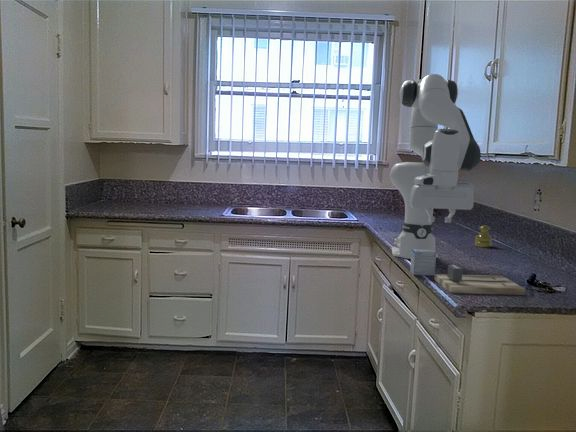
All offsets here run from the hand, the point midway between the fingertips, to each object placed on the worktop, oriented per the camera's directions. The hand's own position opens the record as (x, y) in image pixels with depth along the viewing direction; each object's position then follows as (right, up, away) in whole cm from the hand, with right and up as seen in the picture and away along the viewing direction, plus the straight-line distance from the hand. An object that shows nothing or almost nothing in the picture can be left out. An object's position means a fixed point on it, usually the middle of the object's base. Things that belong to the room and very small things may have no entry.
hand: (439, 222), depth 167 cm
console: (+14, -21, +4) cm, 26 cm away
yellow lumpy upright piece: (+43, -13, +77) cm, 90 cm away
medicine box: (-1, -19, +18) cm, 26 cm away
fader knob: (+6, -19, +3) cm, 20 cm away
